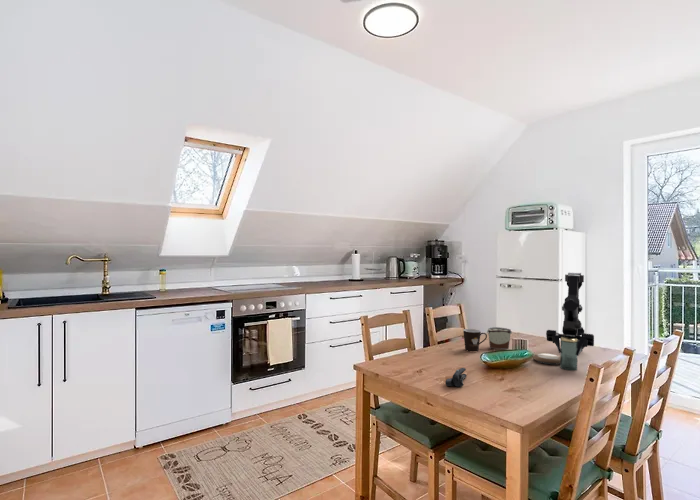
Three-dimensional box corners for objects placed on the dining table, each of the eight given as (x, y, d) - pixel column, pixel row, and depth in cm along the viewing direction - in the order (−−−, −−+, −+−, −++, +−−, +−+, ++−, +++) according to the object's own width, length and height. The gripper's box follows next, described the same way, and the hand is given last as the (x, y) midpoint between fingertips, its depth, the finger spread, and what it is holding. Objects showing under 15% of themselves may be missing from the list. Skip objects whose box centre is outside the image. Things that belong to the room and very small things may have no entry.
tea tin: (557, 365, 188) (558, 336, 187) (573, 366, 187) (574, 337, 186) (563, 370, 181) (563, 340, 181) (579, 371, 180) (580, 340, 180)
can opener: (461, 390, 155) (462, 375, 155) (443, 387, 158) (443, 372, 158) (473, 377, 170) (473, 364, 170) (456, 375, 174) (456, 361, 174)
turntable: (529, 354, 202) (529, 351, 202) (557, 356, 200) (557, 353, 200) (537, 362, 189) (537, 359, 189) (568, 363, 187) (568, 360, 187)
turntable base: (533, 358, 200) (533, 356, 200) (555, 359, 199) (555, 357, 199) (539, 363, 190) (539, 362, 190) (563, 365, 189) (563, 363, 189)
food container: (508, 346, 223) (508, 327, 223) (511, 349, 217) (511, 329, 217) (484, 345, 224) (484, 326, 224) (487, 348, 218) (487, 329, 218)
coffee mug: (462, 351, 211) (463, 331, 211) (463, 347, 219) (463, 328, 219) (487, 353, 208) (487, 333, 208) (486, 349, 216) (487, 329, 216)
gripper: (546, 311, 192) (543, 340, 182) (594, 315, 182) (593, 346, 173) (548, 326, 198) (545, 354, 189) (594, 330, 189) (593, 361, 179)
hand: (568, 353), depth 182 cm, fingers closed on tea tin, 7 cm apart
